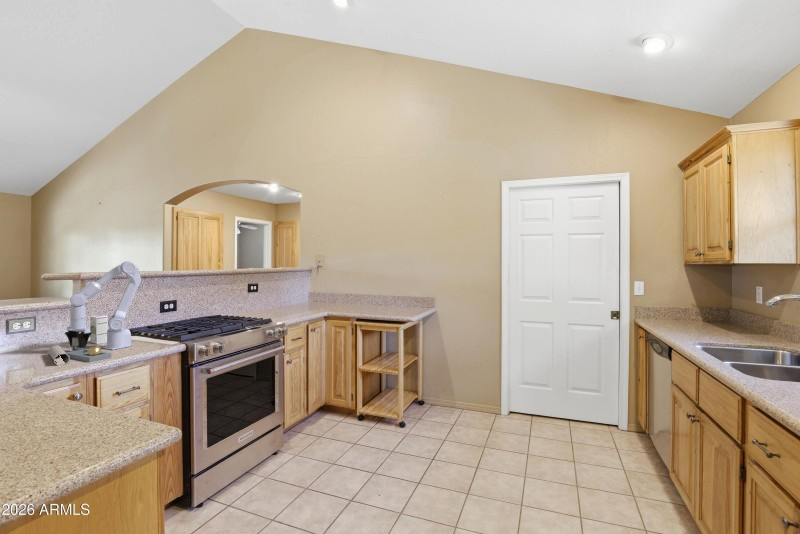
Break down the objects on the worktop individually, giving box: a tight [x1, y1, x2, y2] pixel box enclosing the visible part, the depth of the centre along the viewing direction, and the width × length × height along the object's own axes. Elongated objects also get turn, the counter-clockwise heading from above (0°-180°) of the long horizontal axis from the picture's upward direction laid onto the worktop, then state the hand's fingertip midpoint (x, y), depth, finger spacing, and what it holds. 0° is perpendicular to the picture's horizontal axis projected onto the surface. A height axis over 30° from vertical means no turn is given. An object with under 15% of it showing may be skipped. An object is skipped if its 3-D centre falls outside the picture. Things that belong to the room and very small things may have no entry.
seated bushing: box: [87, 346, 102, 356], centre depth 178 cm, size 4×4×5 cm
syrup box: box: [89, 314, 109, 345], centre depth 208 cm, size 6×6×14 cm
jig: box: [65, 348, 113, 363], centre depth 180 cm, size 9×19×2 cm, turn 67°
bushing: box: [71, 337, 85, 351], centre depth 189 cm, size 4×4×7 cm
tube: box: [48, 344, 71, 366], centre depth 176 cm, size 5×5×25 cm
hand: (78, 346), depth 189 cm, fingers open, 7 cm apart
